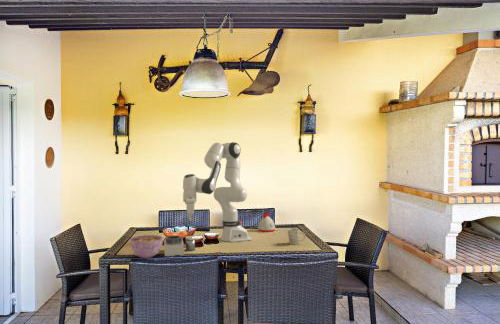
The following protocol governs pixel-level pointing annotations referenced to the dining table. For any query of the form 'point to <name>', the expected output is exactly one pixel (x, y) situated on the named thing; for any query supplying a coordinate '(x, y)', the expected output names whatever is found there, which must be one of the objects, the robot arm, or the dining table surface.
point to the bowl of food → (146, 245)
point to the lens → (190, 243)
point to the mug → (294, 235)
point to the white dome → (266, 224)
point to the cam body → (173, 245)
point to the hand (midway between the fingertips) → (189, 219)
